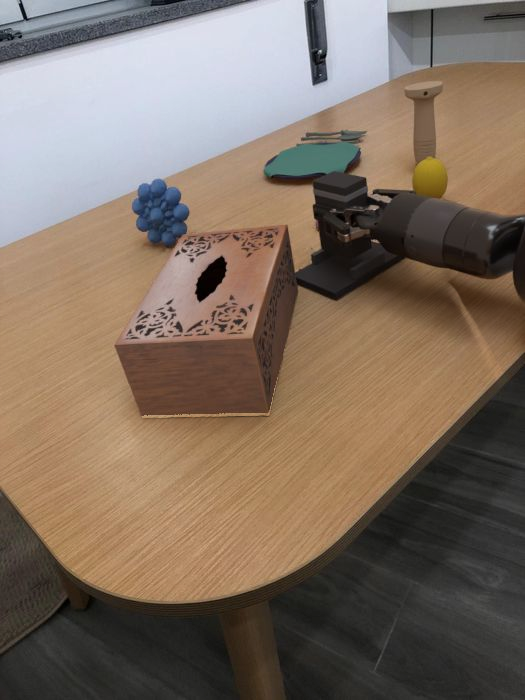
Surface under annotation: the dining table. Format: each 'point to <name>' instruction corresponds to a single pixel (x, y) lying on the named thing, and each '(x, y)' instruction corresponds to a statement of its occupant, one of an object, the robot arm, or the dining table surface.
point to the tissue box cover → (213, 324)
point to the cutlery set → (316, 156)
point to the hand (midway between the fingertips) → (327, 204)
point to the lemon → (430, 178)
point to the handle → (424, 117)
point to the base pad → (344, 270)
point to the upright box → (341, 194)
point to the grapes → (160, 212)
